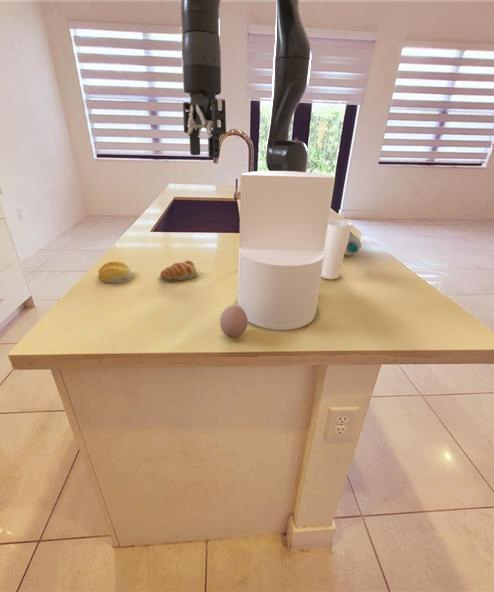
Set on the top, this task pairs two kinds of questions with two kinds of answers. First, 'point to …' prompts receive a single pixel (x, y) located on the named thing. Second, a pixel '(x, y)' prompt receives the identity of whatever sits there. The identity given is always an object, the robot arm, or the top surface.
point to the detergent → (352, 245)
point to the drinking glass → (335, 248)
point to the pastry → (179, 271)
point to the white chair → (282, 245)
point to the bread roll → (114, 273)
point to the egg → (233, 321)
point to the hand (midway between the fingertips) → (204, 156)
